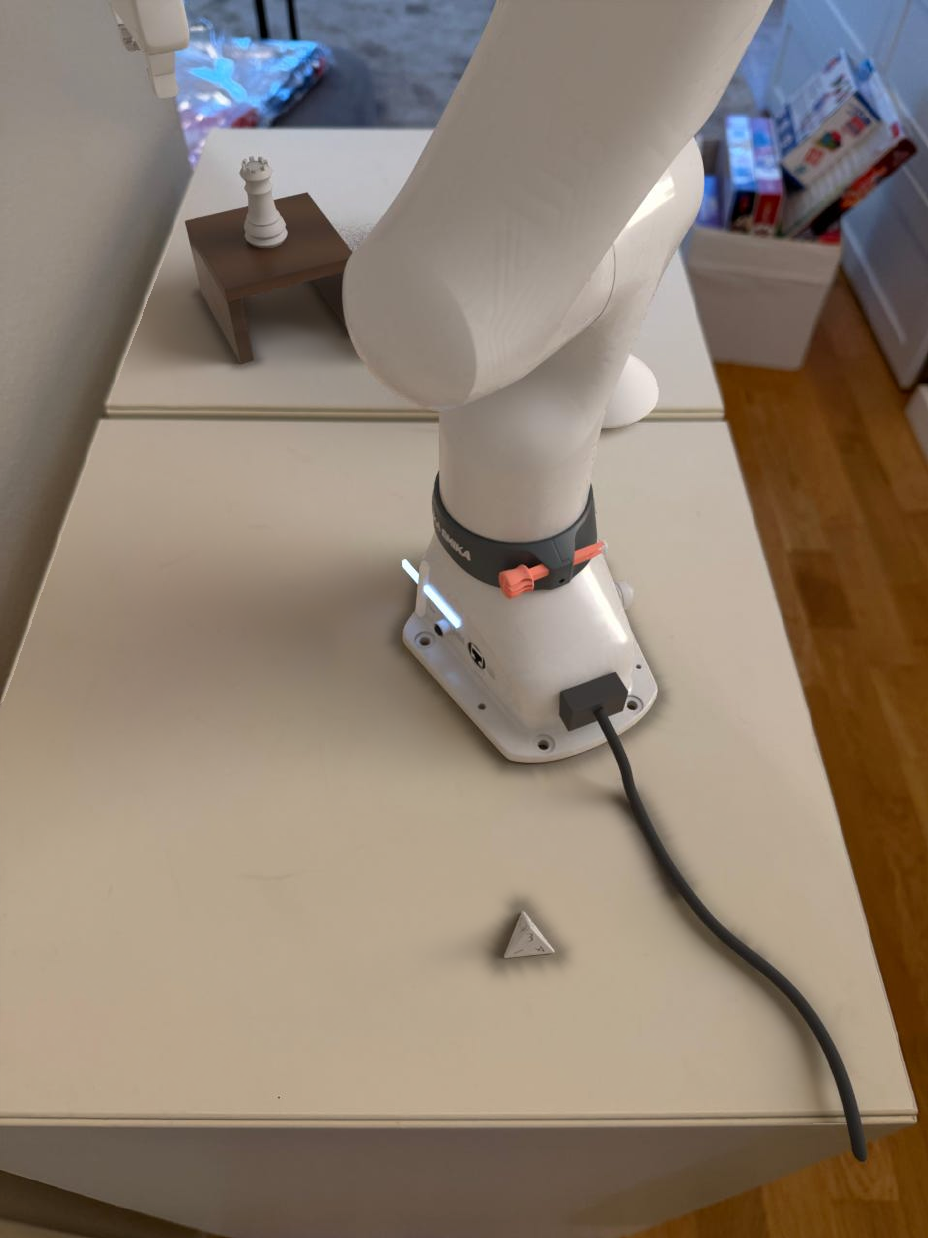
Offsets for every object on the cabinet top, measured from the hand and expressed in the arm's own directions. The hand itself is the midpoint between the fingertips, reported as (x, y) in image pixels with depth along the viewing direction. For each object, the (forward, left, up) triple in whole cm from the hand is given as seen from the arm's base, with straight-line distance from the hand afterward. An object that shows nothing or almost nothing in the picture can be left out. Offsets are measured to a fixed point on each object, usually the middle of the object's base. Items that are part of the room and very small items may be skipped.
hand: (150, 69), depth 75 cm
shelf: (+6, -9, -29) cm, 31 cm away
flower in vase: (-22, -34, -29) cm, 50 cm away
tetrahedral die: (-68, 0, -29) cm, 74 cm away
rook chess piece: (+6, -9, -20) cm, 23 cm away
